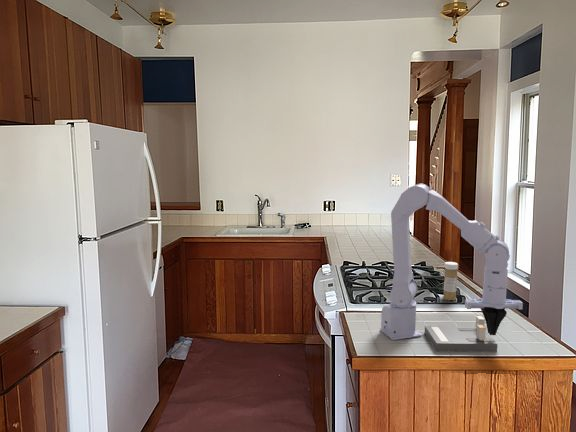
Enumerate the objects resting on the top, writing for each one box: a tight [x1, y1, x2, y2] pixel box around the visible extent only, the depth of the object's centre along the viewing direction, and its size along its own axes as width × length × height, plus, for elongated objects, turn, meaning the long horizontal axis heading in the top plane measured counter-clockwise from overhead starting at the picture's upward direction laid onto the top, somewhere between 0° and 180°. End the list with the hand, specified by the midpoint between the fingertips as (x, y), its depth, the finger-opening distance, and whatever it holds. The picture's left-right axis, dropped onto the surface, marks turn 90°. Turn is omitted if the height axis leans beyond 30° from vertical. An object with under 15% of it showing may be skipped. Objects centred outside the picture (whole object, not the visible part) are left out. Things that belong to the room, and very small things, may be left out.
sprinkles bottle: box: [442, 261, 459, 301], centre depth 160 cm, size 5×5×13 cm
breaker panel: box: [424, 325, 498, 353], centre depth 125 cm, size 16×12×2 cm
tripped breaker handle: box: [476, 325, 487, 340], centre depth 121 cm, size 2×2×3 cm, turn 178°
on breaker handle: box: [475, 315, 486, 328], centre depth 127 cm, size 2×2×3 cm, turn 178°
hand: (491, 333), depth 121 cm, fingers closed
